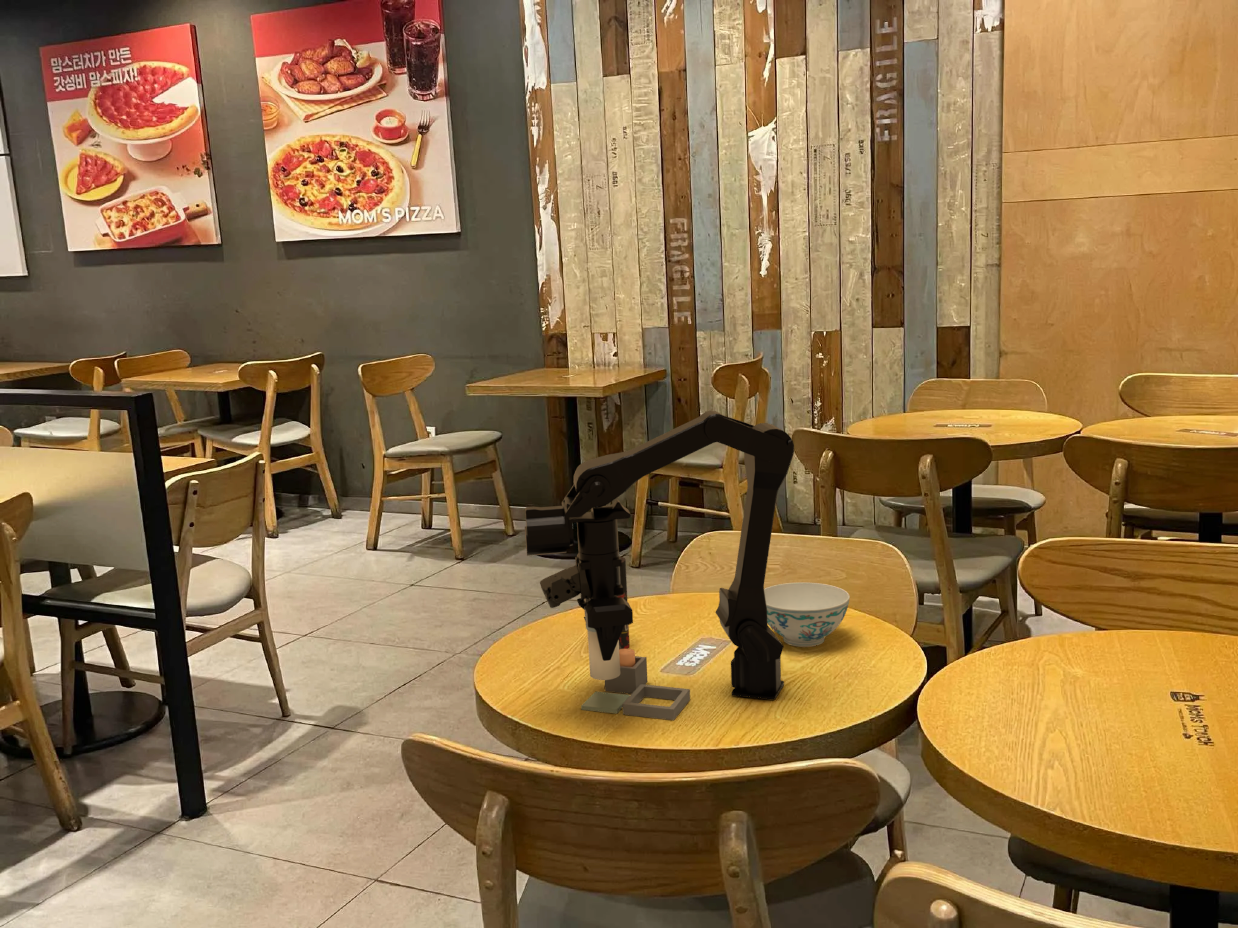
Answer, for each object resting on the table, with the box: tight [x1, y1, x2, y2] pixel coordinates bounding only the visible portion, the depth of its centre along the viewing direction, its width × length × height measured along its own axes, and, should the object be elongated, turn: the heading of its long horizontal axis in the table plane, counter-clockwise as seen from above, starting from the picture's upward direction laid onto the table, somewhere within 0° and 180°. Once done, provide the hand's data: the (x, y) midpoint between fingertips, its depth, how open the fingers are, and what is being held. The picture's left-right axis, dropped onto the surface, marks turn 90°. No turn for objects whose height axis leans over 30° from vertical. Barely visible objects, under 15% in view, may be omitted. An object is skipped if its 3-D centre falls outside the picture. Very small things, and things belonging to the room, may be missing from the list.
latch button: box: [619, 648, 636, 667], centre depth 166 cm, size 3×3×4 cm
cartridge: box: [585, 623, 620, 681], centre depth 158 cm, size 5×5×8 cm
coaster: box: [580, 691, 631, 714], centre depth 160 cm, size 6×6×1 cm
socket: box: [622, 684, 691, 721], centre depth 158 cm, size 8×8×2 cm
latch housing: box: [603, 655, 649, 695], centre depth 166 cm, size 5×5×4 cm
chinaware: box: [764, 581, 851, 648], centre depth 182 cm, size 15×15×8 cm
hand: (604, 654), depth 159 cm, fingers closed on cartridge, 4 cm apart
